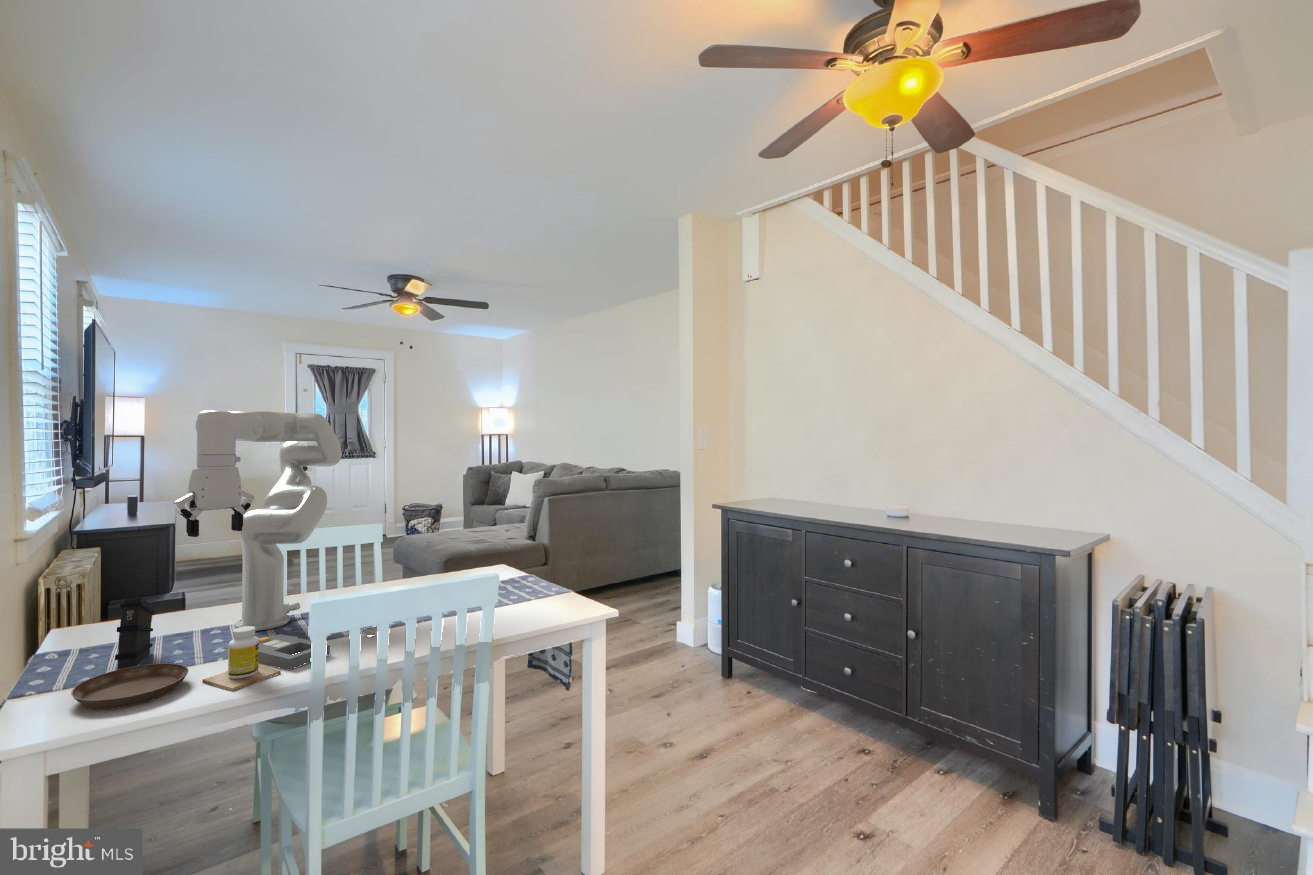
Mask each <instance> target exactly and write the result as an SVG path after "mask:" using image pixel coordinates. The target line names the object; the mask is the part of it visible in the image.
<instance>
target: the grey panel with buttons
mask: <svg viewBox="0 0 1313 875" xmlns="http://www.w3.org/2000/svg"><path fill="white" fill-rule="evenodd" d="M258 639H259V660H258V664H262V665H267V666H270V665H271V666H270V667H274V666H275V668H278V667H280V668H279V669H282V668H283V669H282V670H286V669H289V670H288V671H291V670H290V669H292V670H294V669H295V668H294V667H297V668H299V667H298V666H300V665H303V664H304V663H308V664H311V663H310V658H311V641H312V640H311V639H305V638H300V637H295V636H291V635H287V634H286V635H285V634H281V633H279V634H276V635H273V636H269V637H268V636H263V637H260V638H258ZM326 644H327V655H329V654H330V655H331V645H330V644H328V643H326ZM298 652H300V653H298ZM295 653H297V654H295ZM292 654H294V655H292ZM303 666H304V665H303ZM300 667H301V666H300ZM293 668H294V669H293Z"/></svg>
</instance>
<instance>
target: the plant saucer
mask: <svg viewBox="0 0 1313 875" xmlns="http://www.w3.org/2000/svg"><path fill="white" fill-rule="evenodd" d="M188 674H189V668H188V667H187V666H185V665H183V664H180V663H171V662H170V663H168V662H166V663H165V662H164V663H163V662H162V663H161V662H160V663H149V664H148V663H147V664H141V665H140V664H139V665H138V666H133V667H128V668H123V669H119V670H118V669H117V670H112V671H111V670H110V671H109V672H105V673H102V674H99V675H96V676H93V677H91V678H89V679H86V680H85V681H82V682H81V683H79V684H78V685H76V686H75V687H73V688H72V690H71V692H70V695H71V697H72V698H73V699H74V700H76V701H77V702H78V703H79V704H81V705H82V706H84V707H86V708H89V709H92V710H93V709H94V710H113V709H112V708H114V709H120V708H126V707H132V706H135V705H139V704H140V705H141V704H143V703H146V702H150V701H154V700H156V699H159V698H162V697H164V696H165V695H168V694H170V693H171V692H173V691H174V690H175V689H176V688H177V687H179V686H180V685H181V683H182V682H183V681H184V679H185V678H186V676H188Z"/></svg>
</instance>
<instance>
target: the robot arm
mask: <svg viewBox="0 0 1313 875" xmlns="http://www.w3.org/2000/svg"><path fill="white" fill-rule="evenodd" d="M196 418H197V419H196V421H195V426H194V427H195V431H196V467H195V468H192V470H191V473H190V475H189V476H190V477H189V479H188V488H187V494H185V495H184V496H182V497H181V498H179V499H177V500H175V501H174V502H173V505H174V507H175V509H176V511H177V514H179V515H180V516H181V517H183V519H184V520H186V524H185V526H186V528H185V529H186V530H185V531H186V534H187V536H188V537H190V538H198V537H199V536H200V520H199V519H198V517H199V516H200V515H201V513H203V512H207V511H214V510H215V511H217V510H226V509H230V510H231V512H233V513H232V514H231V522H230V523H231V524H230V525H231V531H234V532H238V536H239V540H240V544H241V545H240V546H241V552H242V553H241V554H242V576H241V577H242V579H241V580H242V582H241V585H242V586H241V588H242V591H241V592H242V593H241V604H242V605H241V619H239V620H237V621H236V622H235V623H234V629H236V628H240V627H246V626H253V627H255V632H257V631H266V630H270V629H275V628H279V627H282V626H284V625H287V624H288V623H289V622H290V620H291V616H290V615H288V614H289V613H290V612H294V611H297V610H300V608H301V604H300V602H296V603H295V602H294V603H291V604H290V603H284V601H285V600H284V599H285V598H284V594H285V593H284V591H285V590H284V586H285V585H284V584H285V583H284V582H285V580H284V579H285V558H284V555H283V552H282V551H281V550H280V548H279V546H278V545H282V544H283V545H289V544H290V545H294V544H302V543H304V542H306V541H307V540H308V539H309V538H310V537H311V535H312V533H313V531H315V529H316V528H317V526H318V524H319V523H320V521H321V519H322V518H323V516H324V514H325V512H326V509H327V505H328V496H327V492H326V491H325V489H324V488H322V487H320V486H318V485H312V479H311V477H310V476H309V474H308V473H307V472H306V470H304V468H303V467H323V468H324V467H325V468H326V467H333V466H336V465H338V464H339V462H340V461H341V460H342V455H343V454H342V453H343V452H342V447H341V444H340V442H339V439H338V438H337V435H336V434H335V431H334V429H333V428H332V426H331V425H330V422H329V421H328V420H327V419H326V418H325V417H324V415H322V414H320V413H316V412H315V413H313V412H311V413H309V412H308V413H307V412H280V411H268V410H267V411H266V410H265V411H264V410H263V411H260V410H259V411H244V410H243V411H241V410H240V411H239V410H202V411H200V412H199V413H198V414H197V417H196ZM237 442H254V443H274V442H275V443H278V442H279V443H281V442H282V443H283V442H284V443H283V444H282V445H281V447H280V450H279V466H280V477H279V479H278V480H277V482H276V483H275V484H274V486H272V488H271V489H270V491H269V492H268V493H267V495H266V496H265V498H264V499H263V502H262V503H263V504H262V508H256V509H252V510H249V509H250V508H251V505H252V503H253V501H254V499H255V495H253V494H251V493H249V492H246V491H244V490H243V489H242V488H243V487H242V480H241V475H240V471H239V470H240V469H239V467H237V466H236V465H237V463H240V462H241V457H240V456H237V454H236V453H237V452H236V449H237V447H236V443H237ZM243 499H244V501H242V500H243ZM185 505H186V506H185ZM186 507H187V508H186ZM188 509H189V510H188Z"/></svg>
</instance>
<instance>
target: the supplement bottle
mask: <svg viewBox="0 0 1313 875" xmlns="http://www.w3.org/2000/svg"><path fill="white" fill-rule="evenodd" d="M255 635H256V631H255V627H253V626H246V627H240V628H236V629H235V628H234V629H233V630H232V638H233V639H232V640H230V641H229V643H228V648H227V649H228V652H227V654H228V655H227V656H228V658H227V659H228V660H227V671H228V677H229V678H232V679H240V678H245V677H249V676H252V675H255V674H256V673H257V672H258V665H259V663H258V660H259V639H260V638H258V637H257V636H255Z"/></svg>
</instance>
